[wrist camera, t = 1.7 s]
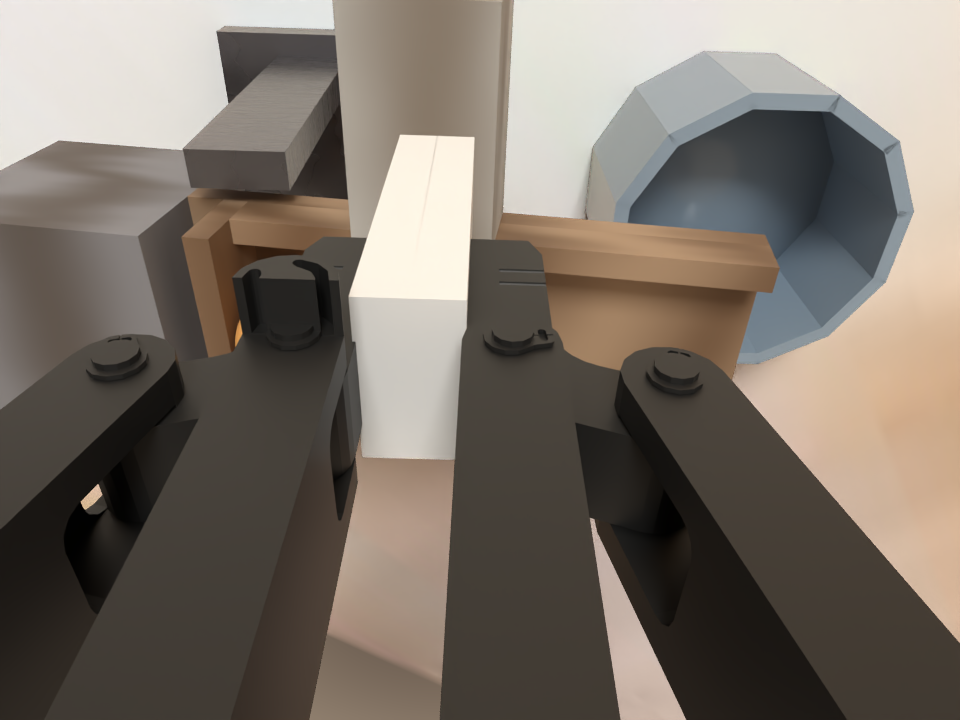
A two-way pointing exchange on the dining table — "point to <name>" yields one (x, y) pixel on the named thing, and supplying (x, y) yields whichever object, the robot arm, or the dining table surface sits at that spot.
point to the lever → (342, 218)
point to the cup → (762, 183)
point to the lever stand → (274, 116)
